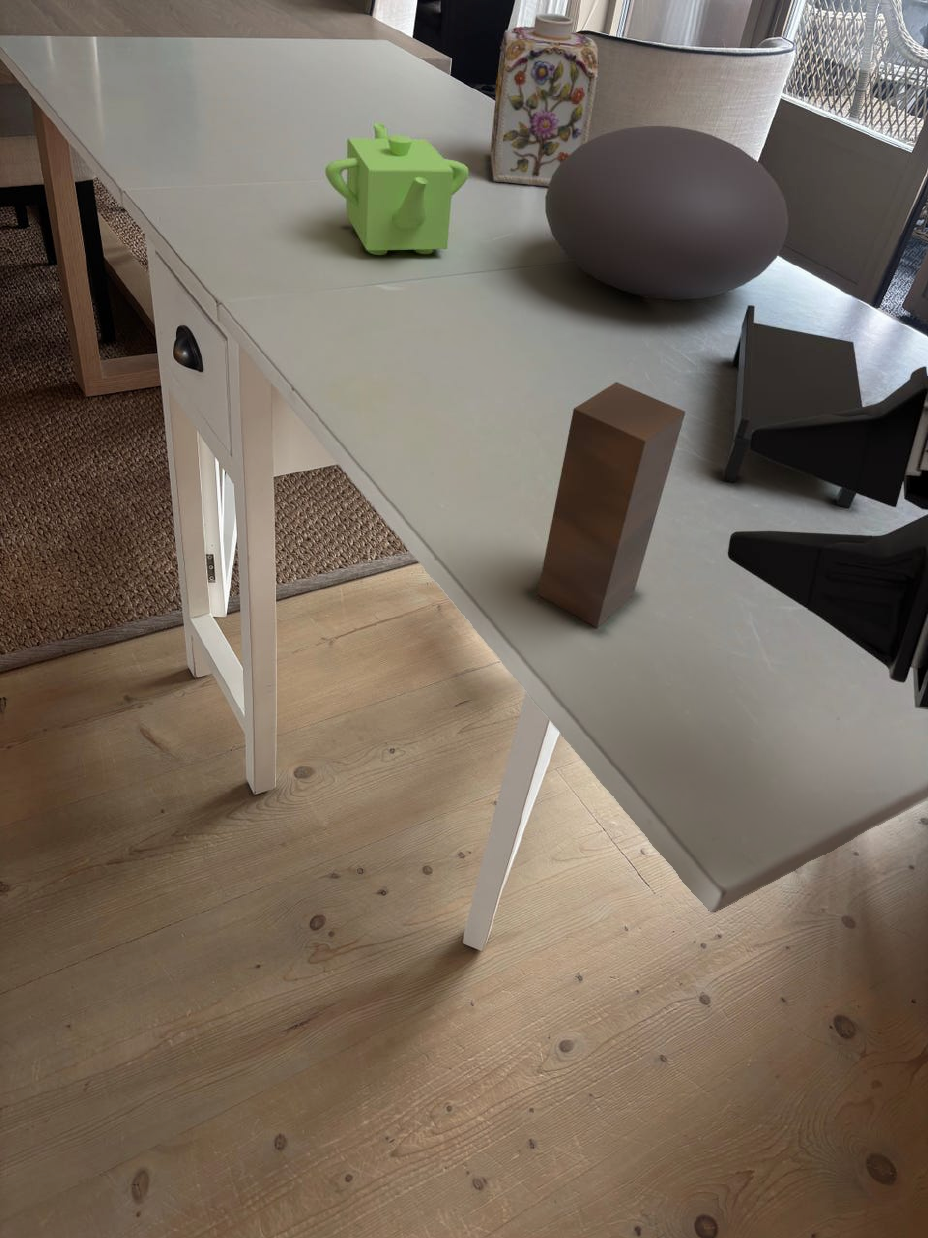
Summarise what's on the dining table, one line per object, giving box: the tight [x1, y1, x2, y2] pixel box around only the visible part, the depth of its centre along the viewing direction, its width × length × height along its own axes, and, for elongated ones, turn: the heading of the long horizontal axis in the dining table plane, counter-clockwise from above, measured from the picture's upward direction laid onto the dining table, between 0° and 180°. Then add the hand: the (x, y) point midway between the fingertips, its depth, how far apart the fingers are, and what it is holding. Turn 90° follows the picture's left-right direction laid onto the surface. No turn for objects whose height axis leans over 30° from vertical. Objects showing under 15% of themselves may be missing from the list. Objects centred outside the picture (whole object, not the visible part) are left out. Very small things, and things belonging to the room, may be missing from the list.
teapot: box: [324, 122, 469, 256], centre depth 100 cm, size 15×13×11 cm
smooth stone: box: [544, 125, 789, 301], centre depth 97 cm, size 25×25×15 cm
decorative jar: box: [490, 13, 599, 188], centre depth 121 cm, size 12×12×18 cm
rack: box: [722, 304, 864, 508], centre depth 79 cm, size 10×22×6 cm, turn 166°
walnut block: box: [537, 381, 686, 628], centre depth 57 cm, size 5×5×14 cm
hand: (741, 487), depth 40 cm, fingers open, 9 cm apart
